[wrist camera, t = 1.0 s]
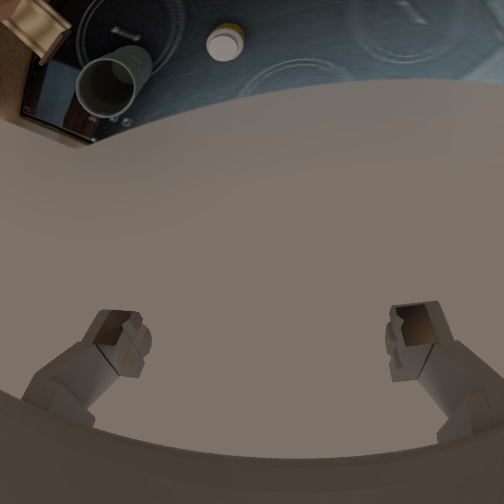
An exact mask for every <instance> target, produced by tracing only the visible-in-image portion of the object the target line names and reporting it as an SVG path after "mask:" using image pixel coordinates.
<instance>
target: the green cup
mask: <svg viewBox="0 0 504 504" xmlns="http://www.w3.org/2000/svg"><path fill="white" fill-rule="evenodd" d="M152 70H153V62H152V58H151V56H150V55H149V53H148V52H147V51H146V50H145V49H143V48H141V47H139V46H135V45H128V46H124V47H122V48H119V49H117V50H116V51H114V52H113V53H109V54H107V55H104V56H102V57H100V58H98V59H96V60H93V61H91V62H90V63H88V64H87V65H86V66H85V67H84V68H83V70H82V71H81V73H80V74H79V76H78V79H77V83H76V94H77V97H78V100H79V102H80V103H81V105H82V106H83V107H84V108H85V110H87V111H88V112H89V113H91V114H93V115H95V116H97V117H102V118H111V117H115V116H118V115H120V114H122V113H123V112H125V111H126V110H127V109H128V108H129V106H130V105H131V104H132V102H133V101H134V99H135V97H136V96H137V94H138V93H139V91H140V90H141V88H142V87H143V85H144V84H145V83H146V81H147V80H148V79H149V78H150V76H151V74H152Z"/></svg>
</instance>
